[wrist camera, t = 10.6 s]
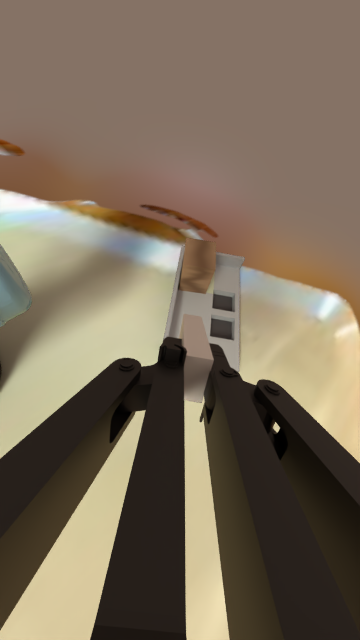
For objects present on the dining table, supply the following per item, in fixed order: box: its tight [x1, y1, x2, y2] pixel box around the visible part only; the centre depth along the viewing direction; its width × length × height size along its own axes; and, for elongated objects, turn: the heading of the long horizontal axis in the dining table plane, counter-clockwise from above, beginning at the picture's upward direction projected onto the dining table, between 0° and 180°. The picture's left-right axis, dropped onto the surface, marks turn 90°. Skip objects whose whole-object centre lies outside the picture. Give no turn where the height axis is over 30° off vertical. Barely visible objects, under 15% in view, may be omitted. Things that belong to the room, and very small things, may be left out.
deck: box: [162, 246, 245, 372], centre depth 38 cm, size 15×26×5 cm, turn 172°
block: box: [179, 238, 216, 294], centre depth 38 cm, size 6×7×8 cm
